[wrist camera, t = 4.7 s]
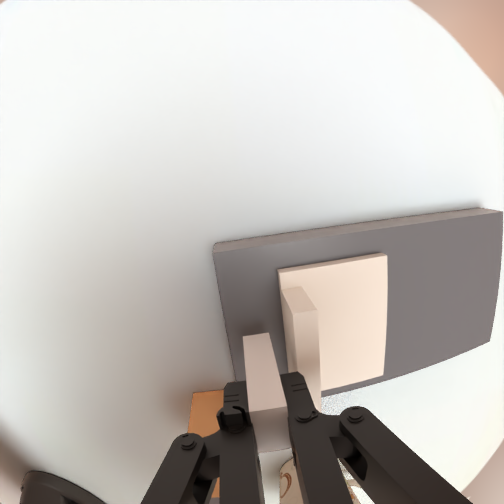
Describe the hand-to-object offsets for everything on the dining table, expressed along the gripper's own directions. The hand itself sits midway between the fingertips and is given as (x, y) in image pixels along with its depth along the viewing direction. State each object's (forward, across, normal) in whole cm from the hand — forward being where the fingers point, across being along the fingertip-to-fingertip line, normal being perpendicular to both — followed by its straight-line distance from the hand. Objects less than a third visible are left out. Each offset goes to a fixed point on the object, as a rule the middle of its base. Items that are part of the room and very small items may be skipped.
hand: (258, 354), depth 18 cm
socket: (+5, +10, 0) cm, 11 cm away
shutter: (+2, +5, 0) cm, 6 cm away
